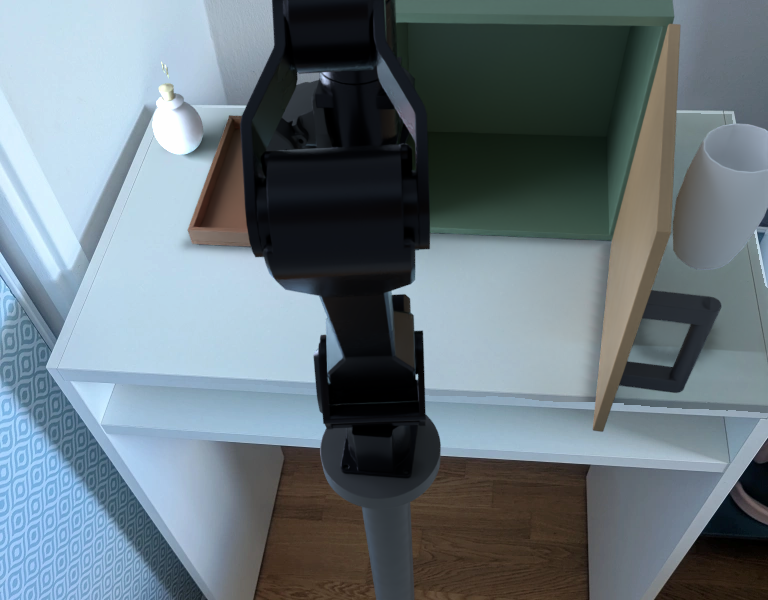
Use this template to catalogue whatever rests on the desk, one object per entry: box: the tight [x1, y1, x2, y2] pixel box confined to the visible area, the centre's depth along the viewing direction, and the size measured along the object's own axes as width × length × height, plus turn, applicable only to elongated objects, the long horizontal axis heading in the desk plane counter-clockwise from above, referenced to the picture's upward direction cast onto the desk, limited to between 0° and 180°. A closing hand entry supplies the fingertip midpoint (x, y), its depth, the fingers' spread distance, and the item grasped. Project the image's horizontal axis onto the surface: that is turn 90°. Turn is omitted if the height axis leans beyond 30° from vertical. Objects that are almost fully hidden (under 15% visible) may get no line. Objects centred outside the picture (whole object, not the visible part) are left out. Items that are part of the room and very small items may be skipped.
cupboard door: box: [592, 23, 722, 433], centre depth 67 cm, size 7×26×23 cm, turn 168°
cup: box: [672, 122, 768, 271], centre depth 68 cm, size 7×7×21 cm
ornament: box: [152, 61, 204, 155], centre depth 92 cm, size 6×7×10 cm
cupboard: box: [395, 0, 675, 242], centre depth 80 cm, size 18×26×24 cm
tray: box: [187, 114, 251, 248], centre depth 91 cm, size 21×17×2 cm
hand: (372, 236), depth 68 cm, fingers open, 9 cm apart
